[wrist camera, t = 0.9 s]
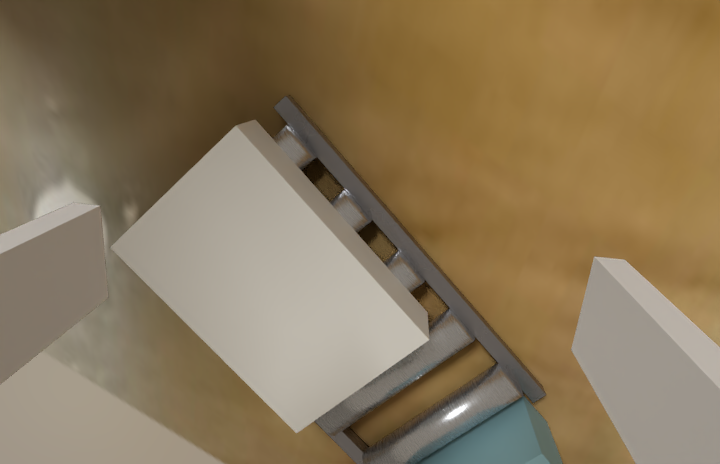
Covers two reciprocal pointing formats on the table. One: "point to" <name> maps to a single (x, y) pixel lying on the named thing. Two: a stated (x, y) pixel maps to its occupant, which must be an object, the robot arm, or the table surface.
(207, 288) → the slab
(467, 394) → the roller bed
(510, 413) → the stop block
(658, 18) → the table surface
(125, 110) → the table surface
